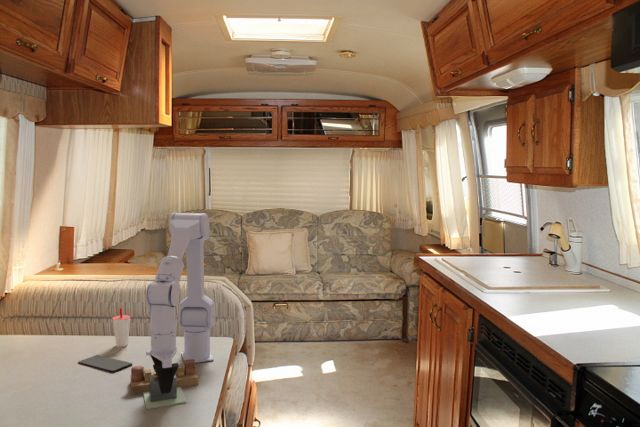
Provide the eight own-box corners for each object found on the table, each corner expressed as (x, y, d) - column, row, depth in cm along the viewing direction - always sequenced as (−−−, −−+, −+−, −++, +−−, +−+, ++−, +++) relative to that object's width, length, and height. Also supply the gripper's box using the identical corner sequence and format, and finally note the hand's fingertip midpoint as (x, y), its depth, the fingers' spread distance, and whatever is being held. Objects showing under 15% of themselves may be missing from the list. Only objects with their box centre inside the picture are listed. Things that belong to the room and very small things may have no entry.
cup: (113, 349, 158) (112, 310, 157) (112, 343, 162) (111, 306, 161) (131, 346, 160) (130, 309, 159) (130, 341, 165) (129, 304, 164)
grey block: (149, 395, 124) (148, 372, 124) (174, 391, 127) (174, 368, 126) (150, 402, 121) (150, 378, 120) (176, 398, 123) (176, 374, 123)
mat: (143, 393, 126) (143, 392, 126) (180, 388, 130) (180, 386, 130) (146, 409, 118) (146, 407, 118) (186, 402, 122) (186, 401, 121)
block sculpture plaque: (130, 382, 133) (130, 363, 133) (193, 373, 139) (193, 355, 139) (132, 394, 126) (132, 374, 125) (198, 384, 132) (198, 365, 132)
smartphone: (97, 354, 152) (133, 363, 145) (97, 357, 152) (133, 366, 145) (76, 361, 146) (112, 371, 139) (77, 364, 146) (112, 374, 139)
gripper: (143, 324, 128) (144, 377, 129) (148, 342, 114) (149, 401, 115) (172, 321, 130) (173, 373, 131) (180, 339, 117) (181, 396, 118)
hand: (164, 386), depth 124 cm, fingers open, 7 cm apart
